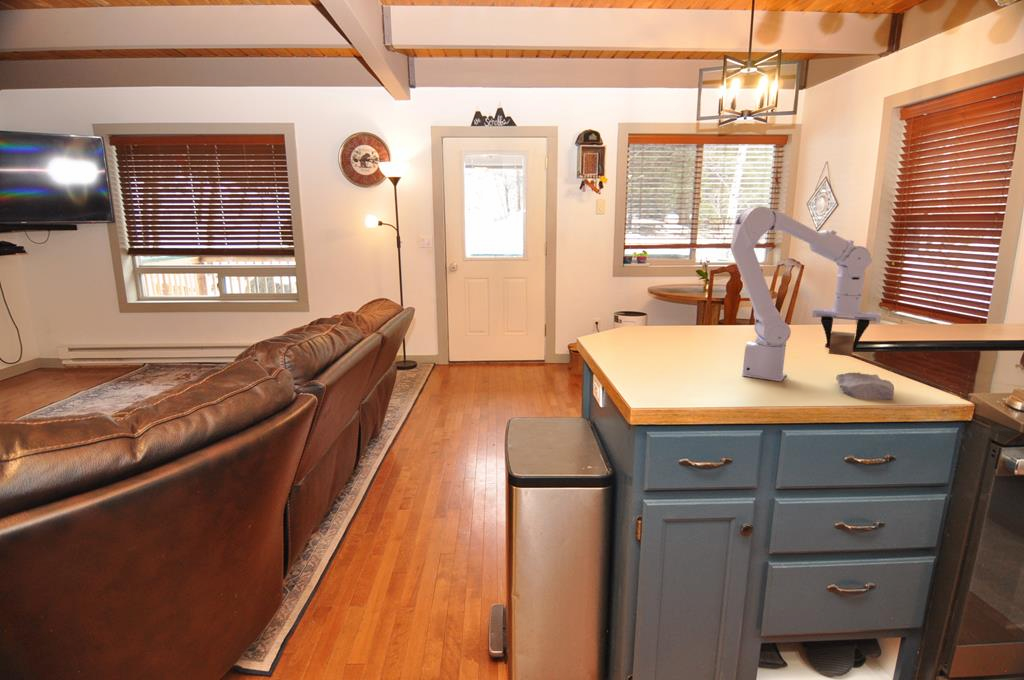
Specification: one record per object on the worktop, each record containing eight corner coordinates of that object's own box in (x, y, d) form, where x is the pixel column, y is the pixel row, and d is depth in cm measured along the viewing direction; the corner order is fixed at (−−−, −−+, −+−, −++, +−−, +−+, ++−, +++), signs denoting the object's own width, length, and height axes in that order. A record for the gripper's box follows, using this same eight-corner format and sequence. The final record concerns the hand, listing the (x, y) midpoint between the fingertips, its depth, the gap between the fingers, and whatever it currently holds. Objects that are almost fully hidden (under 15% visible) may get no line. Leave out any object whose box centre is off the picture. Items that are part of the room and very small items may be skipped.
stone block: (850, 406, 122) (898, 400, 120) (847, 386, 121) (896, 380, 119) (830, 392, 133) (874, 386, 131) (828, 374, 133) (872, 368, 130)
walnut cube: (828, 353, 134) (831, 334, 133) (829, 349, 138) (832, 331, 137) (851, 356, 131) (854, 336, 130) (852, 352, 135) (855, 333, 134)
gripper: (883, 294, 131) (875, 347, 134) (816, 290, 139) (810, 341, 142) (883, 297, 125) (875, 353, 128) (814, 293, 133) (807, 346, 136)
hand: (841, 347), depth 134 cm, fingers closed on walnut cube, 5 cm apart
